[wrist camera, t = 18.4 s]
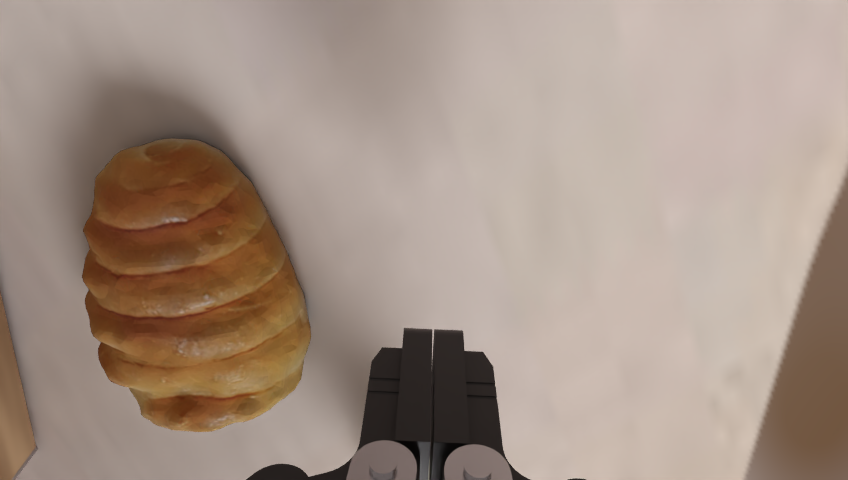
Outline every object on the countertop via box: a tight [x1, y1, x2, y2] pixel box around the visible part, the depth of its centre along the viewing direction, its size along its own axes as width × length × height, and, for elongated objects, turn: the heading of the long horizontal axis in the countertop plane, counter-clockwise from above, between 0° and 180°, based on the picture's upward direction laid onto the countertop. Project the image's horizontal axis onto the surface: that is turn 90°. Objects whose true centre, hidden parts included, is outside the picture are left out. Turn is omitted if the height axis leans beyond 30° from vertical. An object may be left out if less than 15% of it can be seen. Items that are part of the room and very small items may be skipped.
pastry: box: [82, 138, 311, 432], centre depth 18 cm, size 9×7×4 cm
